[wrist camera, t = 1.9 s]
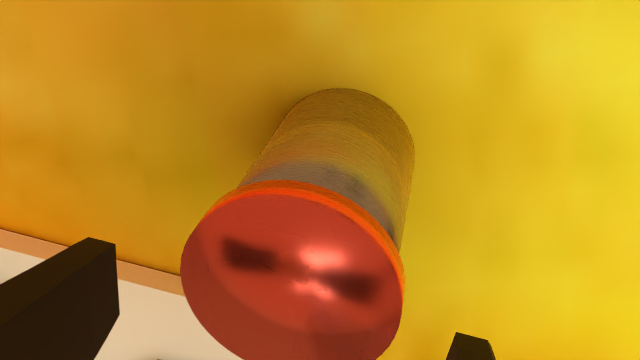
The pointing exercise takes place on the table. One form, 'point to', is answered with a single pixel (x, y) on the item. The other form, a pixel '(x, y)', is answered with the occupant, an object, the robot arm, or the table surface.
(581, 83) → the table surface
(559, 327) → the table surface
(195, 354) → the socket board
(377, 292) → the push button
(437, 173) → the table surface
